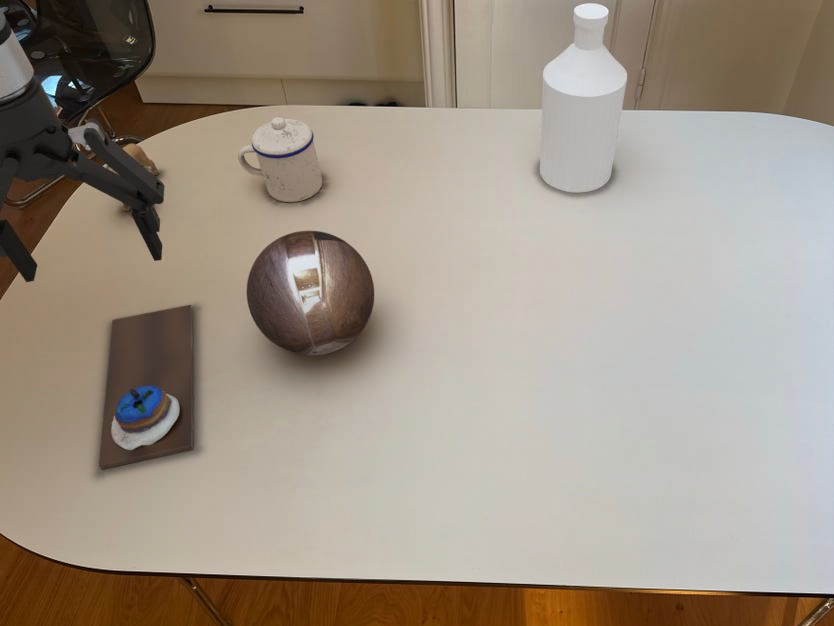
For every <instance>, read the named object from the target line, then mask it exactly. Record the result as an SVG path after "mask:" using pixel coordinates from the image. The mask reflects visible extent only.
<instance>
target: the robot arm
mask: <svg viewBox="0 0 834 626" xmlns="http://www.w3.org/2000/svg"><path fill="white" fill-rule="evenodd" d="M34 73H35V69H34V68H33V65H32V64H31V62H30V60H29V58H28V56H27V55H26V53H25V51H24V49H23V47H22V45H21V43H20V42H19V40H18V38H17V35H16V34H15V32H14V31H13V29H12V27H11V26H10V23H9V21H8V20H7V18H6V16H5V14H4V12H3V10H2V8H1V7H0V213H1V211H2V209H3V207H4V204H5V201H6V199H7V196H8V193H9V192H10V189H11V187H12V184H13V181H14V179H16V180H21V181H24V182H25V184H26V183H32V182H36V181H38V180H41V179H47V180H48V179H49V180H52V179H58V178H59V177H60V175H62V176H64V177H66V178H67V179H70V180H72V181H74V182H77V181H80V182H81V183H84V184H85V185H88V186H89V187H92V188H93V189H95V190H98V191H99V192H101V193H104V194H105V195H107V196H109V197H111V198H113V199H115V200H116V201H118V202H120V203H122V204H123V203H124V204H126V205H128V206H130V207H131V208H132V209H131V217H132V219H133V222H134V223H135V226H136V227H137V229H138V232H139V233H140V236H141V237H142V239H143V242H144V243H145V246H146V248H147V249H148V251H149V253H150V256H151V257H152V259H153V261H154V262H158V261H162V257H163V242H162V241H161V239H160V236H159V234H158V233H159V232H160V231H161V229H160V228H161V218H160V217H159V214H158V212H157V210H156V208H155V205H162V204H163V203H164V198H165V184H164V183H163V182H162V181H161V180H160V179H158V177H157V176H156V175H153V174H151V171H149V170H148V169H147V168H146V167H143V166H142V165H141V164H140V163H139V162H137V161H136V160H135V159H134V158H133V157H131V156H130V155H129V154H128V153H127V152H126V151H124V150H123V149H122V148H123V147H121V146H120V145H119V144H118V143H117V142H116V141H114V140H113V139H111V138H110V136H109V135H108V134H107V132H106V131H105V129H104V127H103V126H102V124H101V123H100V121H99V120H97V119H96V118H94V117H90V118H87V120H86V121H85V124H83V125H80V126H76V127H72V128H69V127H68V126H66V125H65V124H64V122H62V121H61V120H60V118H59V115H58V113H57V110H56V109H55V106H54V105H53V104H52V102H51V99H50V98H49V96H48V93H47V92H46V90H45V88H44V87H43V84H42V83H41V81H40V79H39V78H38V77H37V76H36V75H34ZM74 144H79V145H82V147H84V149H85V150H86V151H88V152H89V151H92V152H93V154H94V155H95V156H96V157H97V158H98V159H99V160H100V161H101V162H102V163H104V164H105V165H106V166H109V167H110V168H111V169H113V170H114V171H115V172H116V173H117V174H116V173H114V172H112V171H111V170H109V169H107V168H106V167H105V166H103V165H101V164H99V163H97V162H96V161H94V160H92V159H90V158H89V157H88V156H87V154H86V153H85V152H83V151H81V150H80V149H78V148H77V147H74ZM69 160H70V161H71V162H72V164H71V163H70V162H69ZM118 174H119V175H118ZM124 204H123V205H124ZM0 257H1V258H5V257H8V259H9V260H10V261H11V263H12V264H13V266H14V267H15V268H16V270H17V271H18V272H19V274H20V276H21V277H22V278H23V280H24V281H25V282H26V283H31V282H34V281H35V278H36V274H37V270H38V263H37V262H36V260H35V259H34V258H33V256H32V255H31V252H29V250H28V249H27V247H26V246H25V244H24V243H23V241H22V240H21V239H20V237H19V235H18V234H17V232H16V230H15V229H14V228H13V227H12V225H11V224H10V222H9V220H8V219H0Z"/></svg>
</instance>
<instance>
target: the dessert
mask: <svg viewBox="0 0 834 626" xmlns="http://www.w3.org/2000/svg"><path fill="white" fill-rule="evenodd" d="M154 387H156V386H142V387H138V388H135V389H131V390H130V392H128V393H127V394H125V395H124V396H123V397H122V398H121V399H120V400H119V402H118V404H117V405H116V409H115V416H114V420H113V422H112V428H111V433H112V438H113V440H114V441H115V442H116V443H117V444H118V445H119V446H121V447H123V448H124V449H127V450H133V449H135V448H137V447H139V446H141V445H151V444H153V443H155V442H156V441H157V440H159V439H160V438H162V437H163V436H164V435H165V434H166V433H167V432H168V431H169V429H170V428H171V426H172V425H173V424H174V422H175V421H176V420H177V418H178V416H179V412H180V411H179V403H178V400H177V399H176V398H175V397H173V396H171V395H169V394H165V392H164V391H162V390H161V389H162V388H161V389H160V390H159V388H154Z"/></svg>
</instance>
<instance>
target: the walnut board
mask: <svg viewBox="0 0 834 626" xmlns="http://www.w3.org/2000/svg"><path fill="white" fill-rule="evenodd" d="M193 315H194V314H193V307H192V305H191V304H188V305H182V306H177V307H171V308H167V309H161V310H156V311H151V312H146V313H145V312H144V313H141V314H136V315H129V316H125V317H120V318H115V319H112V324H111V334H110V343H109V345H110V346H109V355H108V366H107V376H106V386H105V395H104V396H105V397H104V407H103V419H102V429H101V441H100V449H99V450H100V451H99V459H98V467H99V468H100V469H101V470H106V469H111V468H116V467H120V466H124V465H129V464H134V463H138V462H142V461H146V460H151V459H155V458H161V457H166V456H169V455H174V454H178V453H183V452H187V451H191V450H194V349H193V348H194V345H193V344H194V342H193V341H194V340H193V339H194V338H193V337H194V335H193V333H194V330H193V329H194V328H193V327H194V326H193V325H194V324H193V319H194V317H193ZM142 386H156V387H154V388H159V390H160V389H161V388H162V389H161V390H162V391H164V392H165V394H169V395H171V396H173V397H175V398H176V399H177V400H178V403H179V411H180V412H179V416H178V418H177V420H176V421H175V422H174V424H173V425H172V426H171V428H170V429H169V431H168V432H167V433H166V434H165V435H164V436H163V437H162V438H160V439H159V440H157V441H156V442H155V443H153V444H151V445H141V446H139V447H137V448H135V449H133V450H127V449H124V448H123V447H121V446H119V445H118V444H117V443H116V442H115V441H114V440H113V438H112V433H111V428H112V422H113V420H114V416H115V409H116V405H117V404H118V402H119V400H120V399H121V398H122V397H123V396H124V395H125V394H127V393H128V392H130V390H131V389H135V388H138V387H142Z"/></svg>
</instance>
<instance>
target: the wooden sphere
mask: <svg viewBox="0 0 834 626" xmlns="http://www.w3.org/2000/svg"><path fill="white" fill-rule="evenodd" d="M249 270H250V271H249V274H248V277H247V282H246V302H247V306H248V310H249V313H250V315H251V318H252V320H253V322H254V324H255V326H256V327H257V329H258V330H259V331H260V332H261V333H262V335H263V336H264V337H265V338H266V339H268V340H269V341H270V342H271V343H273V344H274V345H275V346H277V347H279V348H281V349H282V350H285V351H287V352H290V353H292V354H296V355H303V356H323V355H327V354H330V353H331V354H332V353H333V352H336V351H338V350H341V349H343V348H344V347H347V345H349V344H351V343H352V342H353V341H355V340H356V338H357V337H358V336H359V335H360V334H361V333H362V332H363V330H364V329H365V327H366V326H367V325H368V322H369V321H370V318H371V317H372V313H373V309H374V305H375V304H374V303H375V285H374V281H373V280H374V279H373V276H372V273H371V271H370V268H369V266H368V264H367V263H366V260H365V259H364V258H363V256H362V255H361V254H360V253H359V251H357V249H356V248H354V247H353V246H352V245H351V244H350V243H349V242H347V241H346V240H344V239H342V238H340V237H338V236H337V235H334V234H331V233H328V232H326V231H325V232H324V231H319V230H299V231H294V232H291V233H287V234H284V235H282V236H280V237H278V238H276V239H275V240H273V241H271V243H269V244H268V245H267V246H266V247H265V248H264V249H262V251H261V252H260V253H259V254H258V255H257V257H256V258H255V260H254V262H253V264H252V265H251V268H250V269H249Z"/></svg>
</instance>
